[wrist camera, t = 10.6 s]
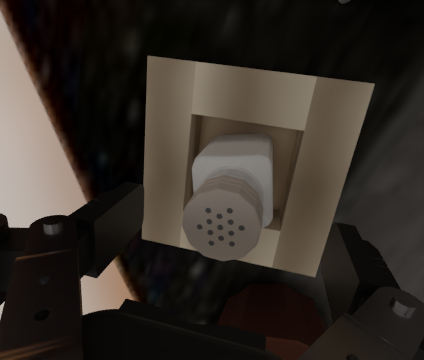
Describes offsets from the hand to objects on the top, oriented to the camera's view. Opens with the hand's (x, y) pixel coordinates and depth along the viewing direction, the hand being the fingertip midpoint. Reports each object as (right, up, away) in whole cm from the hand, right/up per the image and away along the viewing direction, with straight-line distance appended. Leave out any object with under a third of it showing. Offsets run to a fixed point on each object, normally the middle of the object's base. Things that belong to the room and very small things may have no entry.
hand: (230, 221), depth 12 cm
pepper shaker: (+2, +3, +8) cm, 9 cm away
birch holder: (+2, +3, +9) cm, 10 cm away
